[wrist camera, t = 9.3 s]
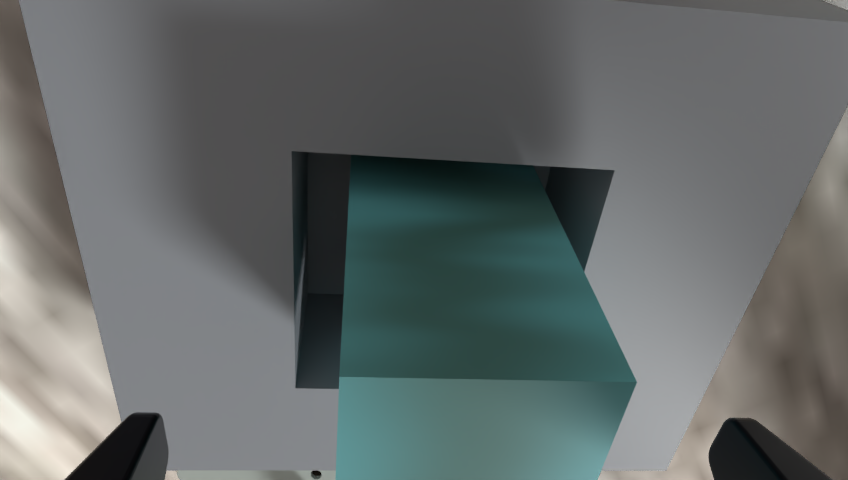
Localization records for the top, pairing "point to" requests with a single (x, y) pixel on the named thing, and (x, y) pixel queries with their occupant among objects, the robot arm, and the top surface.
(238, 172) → the well block
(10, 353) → the top surface
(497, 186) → the teal peg
